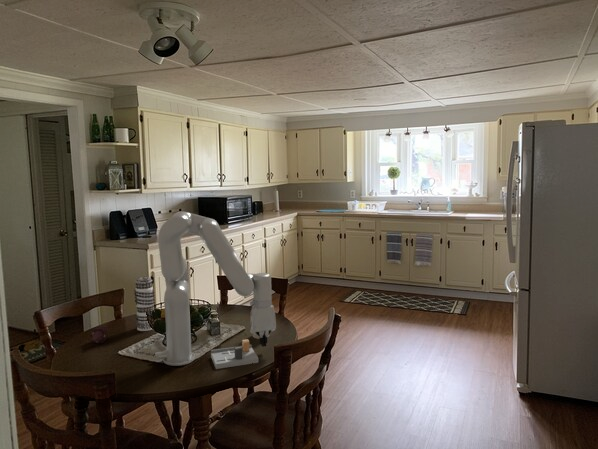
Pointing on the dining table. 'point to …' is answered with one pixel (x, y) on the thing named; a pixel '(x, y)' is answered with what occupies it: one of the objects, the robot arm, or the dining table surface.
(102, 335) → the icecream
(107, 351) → the dining table surface
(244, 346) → the fader orange
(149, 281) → the decorative candle
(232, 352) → the console
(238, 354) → the fader black
